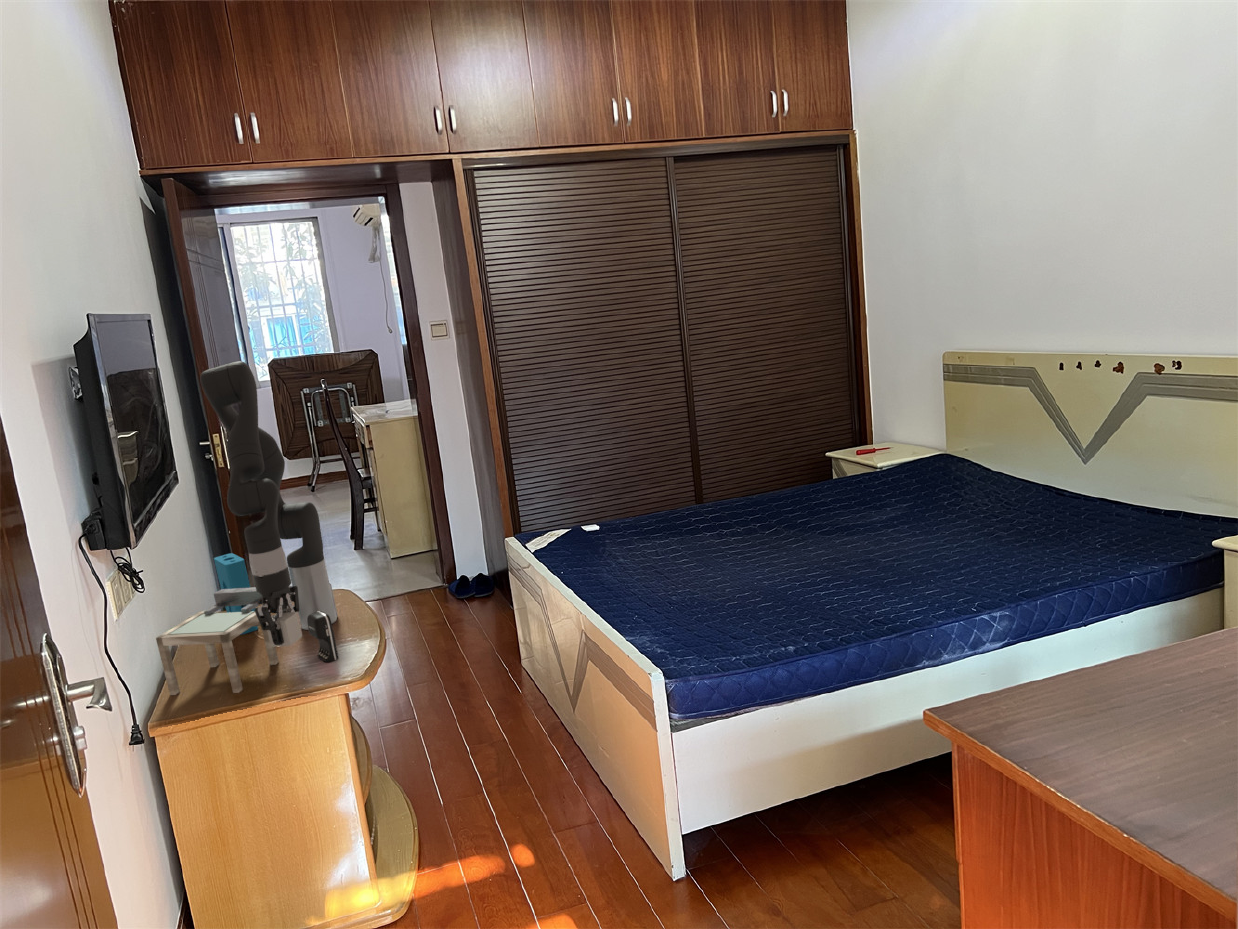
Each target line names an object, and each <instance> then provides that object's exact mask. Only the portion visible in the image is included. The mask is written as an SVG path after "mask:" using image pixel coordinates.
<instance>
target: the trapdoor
mask: <svg viewBox="0 0 1238 929" xmlns="http://www.w3.org/2000/svg"><path fill="white" fill-rule="evenodd" d="M213 598H214V601H215V604H214V605H212V606H210V607H209V608H207V609H206V610H203V611H204V613H205V614H202V615H201V616H199V617H197V618H196V619H194V620H192V621H190V622H189V623H187V624H185V625H184V626H182V627H180V628H179V629H177V630H175V631H174V632H172V633H170V634H169V635H177V634H197V633H216V632H225V631H226V630H228V629H229V628H231V627H232V626H234V625H235V624H237V623H238V622H240V621H242V620H243V619H245V618H246V617H248V616H249V615H251V614H252V613H254V612H255V611H251V610H253V609H254V608H256V607H260V606H261V605H262V595H261V594H260V593H258V592H257V591H256V587H255V586H254V587H251V586H250V588H235V589H221V588H220V589H219V590H217V591H216V592H215V593H213ZM240 605H247V606H245V607H244V608H242V609H241V612H229V613H227V612H219V611H220V610H221V609H223V608H225V606H240ZM217 611H218V612H217Z"/></svg>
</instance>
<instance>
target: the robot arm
mask: <svg viewBox="0 0 1238 929" xmlns="http://www.w3.org/2000/svg"><path fill="white" fill-rule="evenodd" d="M199 380H200V385H201V388H202V391H203V393H204V395H205V397H206V399H207V400H208V402H209V404H210V406H211V408H212V409H213V411H214V412H215V413H216V415H217V417H218V418H219V420H220V422H221V423H222V425H223V427H224V428H225V431H226V433H227V434H228V438H227V441H226V452H227V457H228V463H229V468H230V469H229V470H230V475H229V476H230V477H229V484H228V489H227V495H226V504H227V507H228V509H229V511H230V512H231V513H232V514H233V515H235V516H236V517H243V516H248V515H253V514H258V513H263V512H265V514H264V516H263V518H261V519H260V520H258V521H256V522H253V523H251V524H249V525H247V526H246V527H245V528H244V530H243V533H244V534H243V535H244V539H245V543H246V548H247V551H248V559H249V566H250V570H251V574H252V578H253V582H254V587H256V591H257V592H258V593H260V594H261V595H262V604H260V605H259V606H257V607H256V608H255V613H256V615H257V618H258V620H259V622H260V625H261V626H260V627H262V628H261V630H262V629H263V630H270V632H271V636H272V639H273V643H274V644H275V645H282V644H283V643H284V639H283V635H282V631H281V628H280V619H281V618H282V613H287V612H289V613H291V612H297V614H298V619H299V623H300V628H301V630H307V631H309V629H308V623H307V617H308V616H309V615H310V614H312V613H315V612H317V611H322V612H325V613H326V614H328V615H329V617H330V619H331V623H332V625H333V624H334V623H335V622H337V620H338V618H337V617H338V610H337V606H336V601H335V596H334V592H333V587H332V586H333V585H332V583H330V580H329V579H330V578H329V575H328V574H329V573H328V569H327V566H326V560H325V556H324V542H323V537H322V530H321V523H320V518H319V517H320V515H319V512H318V510H317V508H316V506H315V504H313V503H312V502H310V501H309V502H308V501H306V502H305V501H303V502H294V503H286V502H285V501H284V499H283V498H282V495H281V491H280V490H281V489H280V488H281V483H282V481H283V480H282V479H283V476H284V472H285V469H286V468H285V466H286V462H285V458H284V456H283V454H282V451H281V449H280V446H279V445H278V443H277V441H276V440H275V438H274V437H273V435H271V434H270V433H268V432H267V431H265V430H264V429H262V428H261V427H259V406H258V404H259V403H258V387H257V383H256V382H257V381H256V379H255V376H254V373H253V371H252V369H251V368H250V366H249V365H248V363H247V362H245V361H243V360H239V361H233V362H229V363H227V364H223V365H219V366H215V367H212V368H209V369H205V370H204V371H202V372H201V373H200V377H199ZM238 403H240V409H239V411H237V410H236V409H235V408H234V407H233V405H235V404H238ZM295 539H302V540H301V541H302V546H301V547H299V548H297V549H295V550H293V551H292V552H290V553H289V554H287V556H286V553H285V550H284V548H283V544H282V541H281V540H295ZM273 614H274V615H273ZM275 614H276V615H275ZM273 619H275V624H274V622H273ZM266 622H267V625H266Z"/></svg>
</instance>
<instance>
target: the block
mask: <svg viewBox="0 0 1238 929" xmlns="http://www.w3.org/2000/svg"><path fill="white" fill-rule="evenodd" d="M213 561H214V565H215V570H216V574H217V578H218V579H217V580H218V582H219V585H220V590H221V589H235V588H251V584H250V581H249V575H248V571H247V570H248V569H247V567H246V561H245V558H243V557H240V556H239V555H237V554H234V553H233V552H231V553H226V554H223V555H219V556H216V557H214V558H213ZM245 606H247V605H240V606H225V607H224V608H225V610H226V613H229V612H241V609H242V608H244V607H245ZM251 611H255V608H254V609H253V610H251ZM258 629H259V626H252V627H250V628H249V629H247V630H246V631H244V632H243V633H241V634H240V635H239V636H241V635H242V636H243V635H246V634H248V633H253V632H254V631H258Z"/></svg>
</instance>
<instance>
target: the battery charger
mask: <svg viewBox="0 0 1238 929" xmlns="http://www.w3.org/2000/svg"><path fill="white" fill-rule="evenodd" d="M307 623H308V629H309V630H308V633H309V635H310V636H311V637H313V638H315V639H317V640H318V644H319V648H318V652H317V655H316V656H317V658H318V659H319V660H321V661H323V662H324V663H330V662H333V661H337V660H338V659H339V653H338V648H337V645H336V638H335V633H334V628H333V624H332V623H331V619H330V617H329V615H328V614H326V613H325V612H322V611H317V612H315V613H312V614H310V615H309V616H308V617H307Z"/></svg>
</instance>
